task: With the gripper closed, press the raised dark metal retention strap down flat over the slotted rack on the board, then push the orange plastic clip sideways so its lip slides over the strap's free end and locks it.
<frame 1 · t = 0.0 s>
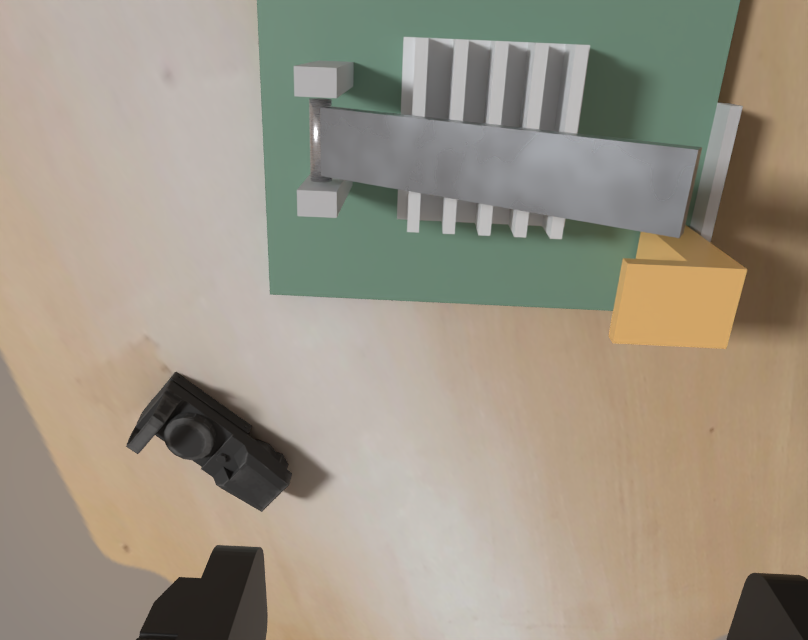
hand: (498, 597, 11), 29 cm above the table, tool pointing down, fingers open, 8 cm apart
reflex sight: (224, 430, 45), on the table
strap: (473, 162, 26), point 11 cm above the table, hinge at 30.0°
slotted rack on board: (482, 128, 36), on the table
clip: (652, 279, 34), point 5 cm above the table, slide at 0.0 cm
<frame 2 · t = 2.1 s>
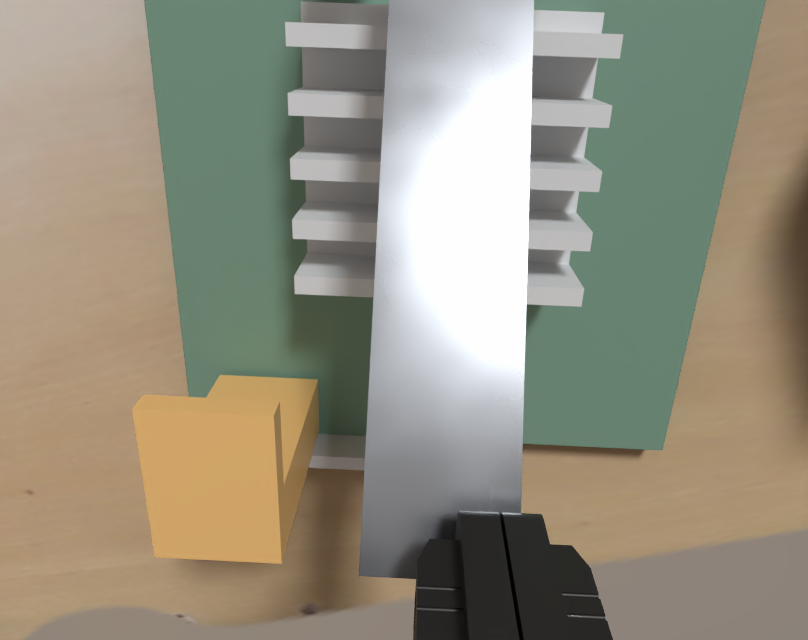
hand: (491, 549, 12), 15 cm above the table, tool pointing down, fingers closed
strap: (454, 162, 14), point 11 cm above the table, hinge at 30.0°, touching gripper
slotted rack on board: (441, 145, 24), on the table
clip: (244, 421, 23), point 5 cm above the table, slide at 0.0 cm
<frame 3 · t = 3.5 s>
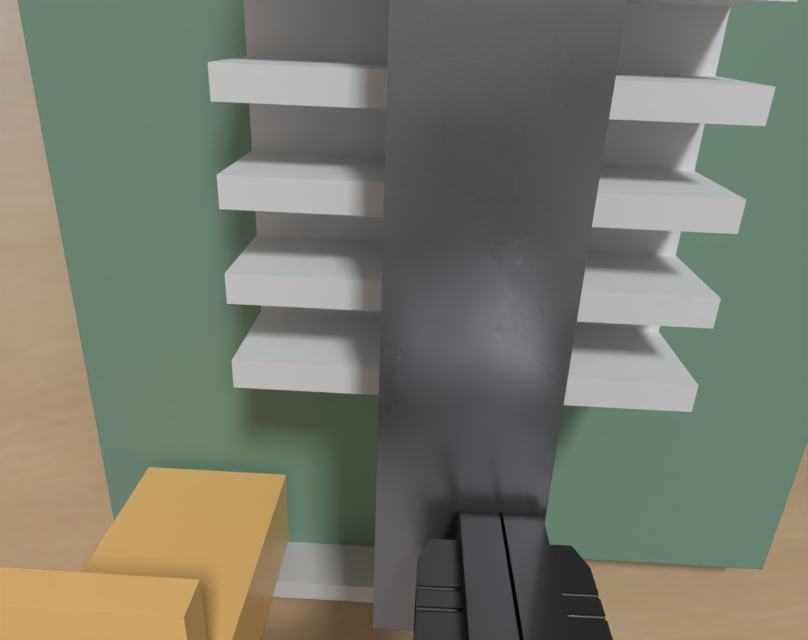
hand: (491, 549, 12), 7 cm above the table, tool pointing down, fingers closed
strap: (485, 212, 10), point 7 cm above the table, hinge at 0.6°, touching gripper
slotted rack on board: (463, 148, 16), on the table
clip: (167, 561, 15), point 5 cm above the table, slide at 0.0 cm
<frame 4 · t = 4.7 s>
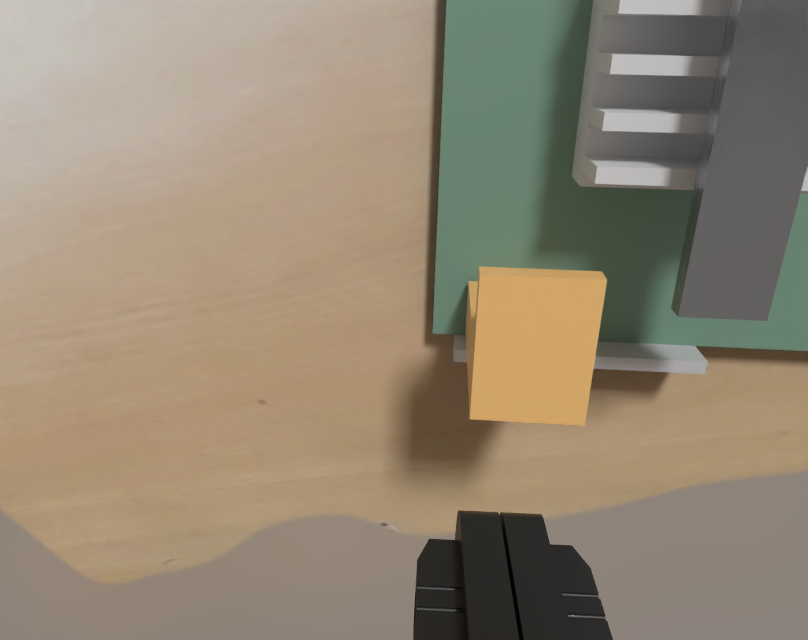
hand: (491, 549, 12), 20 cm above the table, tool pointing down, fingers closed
strap: (775, 60, 20), point 7 cm above the table, hinge at 0.6°
slotted rack on board: (693, 61, 26), on the table
clip: (523, 309, 25), point 5 cm above the table, slide at 0.0 cm
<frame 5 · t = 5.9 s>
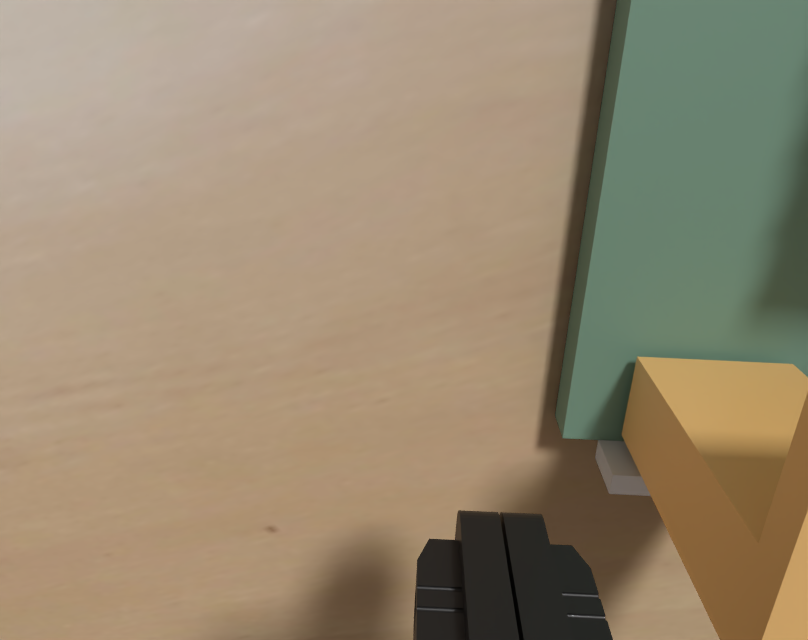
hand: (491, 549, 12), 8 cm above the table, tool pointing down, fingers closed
clip: (793, 432, 13), point 5 cm above the table, slide at 0.0 cm
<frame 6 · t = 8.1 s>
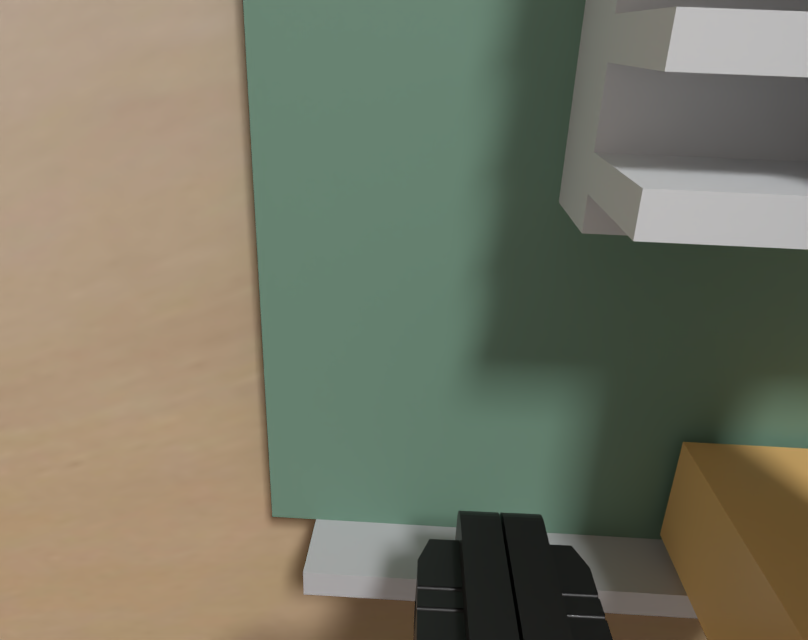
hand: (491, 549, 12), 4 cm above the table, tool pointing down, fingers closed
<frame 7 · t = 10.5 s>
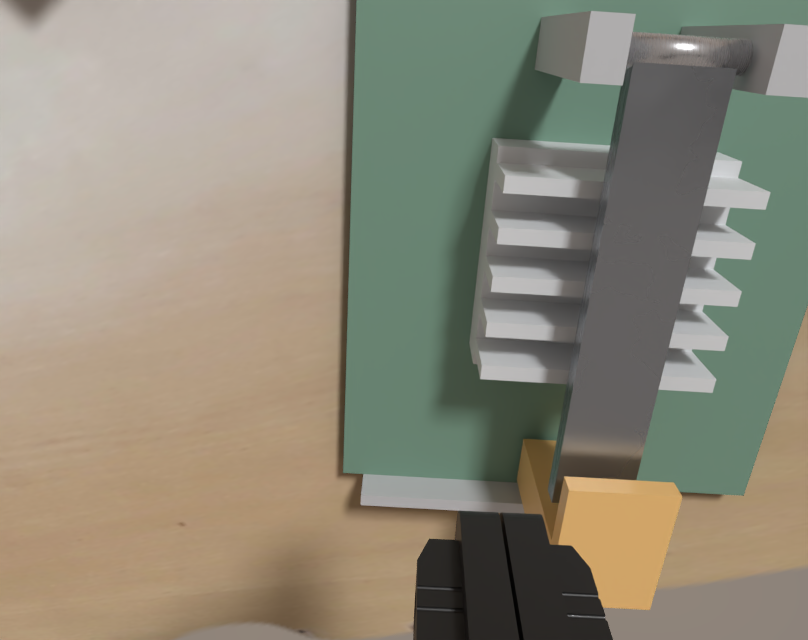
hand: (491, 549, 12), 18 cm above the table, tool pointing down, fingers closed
strap: (630, 300, 22), point 7 cm above the table, hinge at 0.6°
slotted rack on board: (579, 245, 29), on the table
clip: (585, 486, 27), point 5 cm above the table, slide at 7.0 cm
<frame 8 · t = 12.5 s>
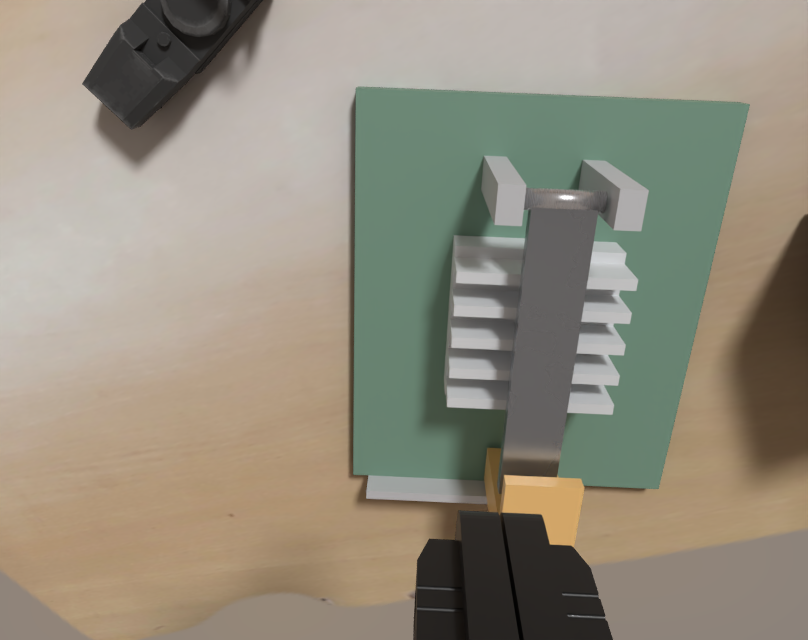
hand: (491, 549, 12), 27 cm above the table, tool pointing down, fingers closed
reflex sight: (188, 28, 34), on the table
strap: (543, 354, 32), point 7 cm above the table, hinge at 0.6°
slotted rack on board: (522, 305, 39), on the table
clip: (528, 482, 38), point 5 cm above the table, slide at 7.0 cm
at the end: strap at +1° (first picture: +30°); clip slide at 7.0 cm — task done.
